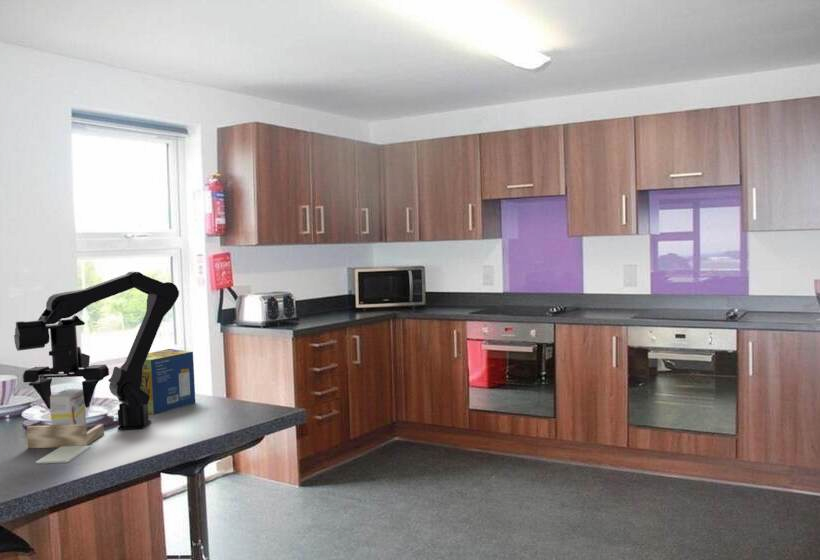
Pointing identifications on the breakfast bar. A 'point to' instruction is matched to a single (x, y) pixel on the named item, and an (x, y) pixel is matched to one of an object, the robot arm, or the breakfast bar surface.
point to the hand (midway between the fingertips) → (68, 407)
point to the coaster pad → (63, 454)
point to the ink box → (68, 407)
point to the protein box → (168, 380)
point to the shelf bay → (62, 435)
